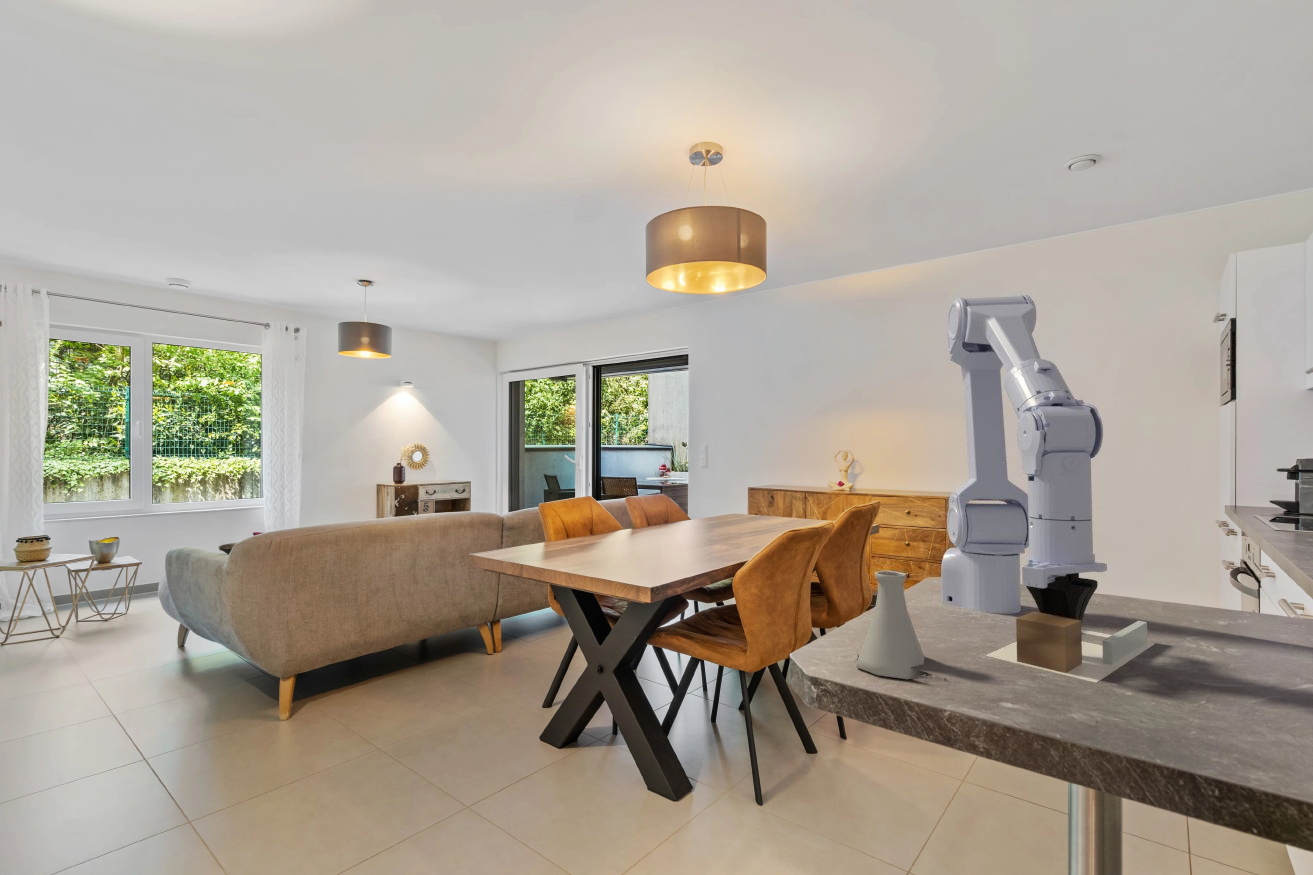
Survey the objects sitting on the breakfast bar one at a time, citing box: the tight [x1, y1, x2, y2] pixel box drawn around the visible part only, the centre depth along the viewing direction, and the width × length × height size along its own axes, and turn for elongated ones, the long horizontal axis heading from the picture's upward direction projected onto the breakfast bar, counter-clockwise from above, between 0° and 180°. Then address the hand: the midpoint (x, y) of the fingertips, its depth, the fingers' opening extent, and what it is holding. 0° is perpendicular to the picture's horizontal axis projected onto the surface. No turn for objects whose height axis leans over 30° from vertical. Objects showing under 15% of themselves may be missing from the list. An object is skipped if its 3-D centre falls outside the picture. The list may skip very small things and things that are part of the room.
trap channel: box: [985, 620, 1156, 684], centre depth 68 cm, size 10×19×3 cm, turn 128°
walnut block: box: [1015, 611, 1083, 673], centre depth 64 cm, size 4×4×4 cm
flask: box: [855, 570, 928, 680], centre depth 66 cm, size 7×7×10 cm
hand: (1062, 646), depth 66 cm, fingers closed
